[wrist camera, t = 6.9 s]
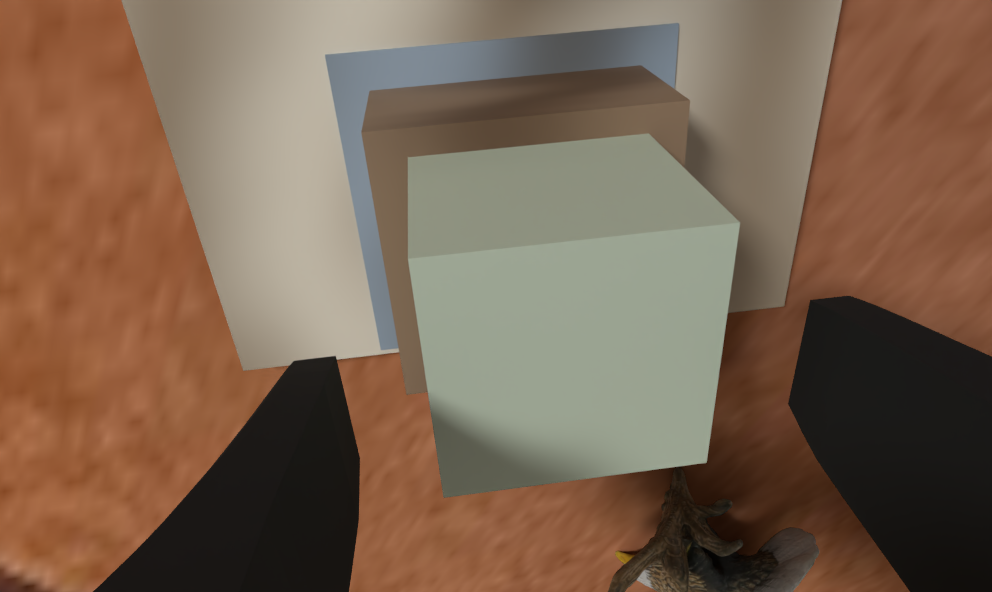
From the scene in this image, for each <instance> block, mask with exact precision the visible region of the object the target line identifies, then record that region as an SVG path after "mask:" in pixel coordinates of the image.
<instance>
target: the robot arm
mask: <svg viewBox="0 0 992 592" xmlns="http://www.w3.org/2000/svg"><path fill="white" fill-rule="evenodd" d="M788 404H789V406H790V408H791V410H792V412H793V414H794V416H795V418H796V420H797V422H798V425H799V427H800V429H801V431H802V433H803V435H804V437H805V438H806V440H807V442H808V444H809V446H810V448H811V449H812V451H813V453H814V455H815V457H816V459H817V460H818V462H819V463H820V465H821V466H822V468H823V469H824V471H825V472H826V474H827V475H828V477H829V478H830V479H831V481H832V482H833V484H834V485H835V487H836V488H837V489H838V491H839V492H840V494H841V495H842V497H843V498H844V499H845V501H846V502H847V504H848V505H849V507H850V508H851V509H852V511H853V512H854V514H855V515H856V516H857V518H858V519H859V521H860V522H861V523H862V525H863V526H864V528H865V529H866V530H867V532H868V533H869V535H870V536H871V537H872V539H873V540H874V542H875V543H876V544H877V546H878V547H879V549H880V550H881V551H882V553H883V554H884V556H885V557H886V558H887V560H888V561H889V563H890V564H891V565H892V567H893V568H894V570H895V571H896V572H897V574H898V575H899V577H900V578H901V579H902V581H903V582H904V584H905V585H906V586H907V588H908V589H909V591H910V592H992V357H991V356H989V355H987V354H984V353H982V352H980V351H978V350H975V349H973V348H971V347H969V346H966V345H964V344H962V343H960V342H957V341H955V340H953V339H951V338H949V337H946V336H944V335H942V334H940V333H937V332H935V331H933V330H931V329H929V328H926V327H924V326H922V325H920V324H917V323H915V322H913V321H911V320H908V319H906V318H904V317H902V316H899V315H897V314H895V313H892V312H890V311H888V310H885V309H883V308H880V307H878V306H876V305H873V304H870V303H868V302H865V301H863V300H860V299H857V298H854V297H851V296H842V297H834V298H825V299H817V300H810V304H809V309H808V314H807V318H806V323H805V328H804V332H803V337H802V342H801V346H800V351H799V356H798V360H797V365H796V370H795V374H794V379H793V384H792V389H791V393H790V398H789V403H788ZM359 476H360V457H359V453H358V449H357V444H356V440H355V436H354V432H353V427H352V423H351V419H350V415H349V410H348V406H347V402H346V398H345V393H344V389H343V385H342V381H341V376H340V372H339V368H338V364H337V359H336V356H330V357H322V358H313V359H305V360H296V361H293V362H292V363H291V365H290V366H289V367H288V368H287V369H286V371H285V372H284V373H283V375H282V376H281V377H280V379H279V380H278V381H277V383H276V384H275V385H274V387H273V388H272V389H271V391H270V392H269V393H268V395H267V396H266V397H265V399H264V400H263V401H262V403H261V404H260V405H259V407H258V408H257V409H256V411H255V412H254V413H253V415H252V416H251V417H250V419H249V420H248V421H247V423H246V424H245V425H244V427H243V428H242V429H241V430H240V432H239V433H238V434H237V435H236V437H235V438H234V439H233V440H232V442H231V443H230V444H229V445H228V447H227V448H226V449H225V450H224V452H223V453H222V454H221V455H220V457H219V458H218V459H217V461H216V462H215V463H214V464H213V465H212V467H211V468H210V469H209V470H208V471H207V473H206V474H205V475H204V476H203V477H202V479H201V480H200V481H199V482H198V483H197V484H196V485H195V486H194V488H193V489H192V490H191V491H190V492H189V493H188V494H187V496H186V497H185V498H184V499H183V500H182V501H181V502H180V504H179V505H178V506H177V507H176V508H175V509H174V510H173V512H172V513H171V514H170V515H169V516H168V517H167V518H166V519H165V521H164V522H163V523H162V524H161V525H160V526H159V527H158V528H157V529H156V530H155V531H154V532H153V533H152V534H151V535H150V537H149V538H148V539H147V540H146V541H145V542H144V543H143V544H142V545H141V546H140V547H139V548H138V549H137V550H136V551H135V552H134V553H133V554H132V555H131V556H130V557H129V558H128V559H127V560H126V561H125V562H124V563H123V564H121V565H120V566H119V567H118V568H117V569H116V570H115V571H114V572H113V573H112V574H111V575H110V576H109V577H108V578H107V579H106V580H105V581H104V582H103V583H102V584H101V585H100V586H99V587H98V588H97V589H95V590H94V591H93V592H349V587H350V580H351V573H352V565H353V558H354V551H355V544H356V536H357V528H358V521H359Z"/></svg>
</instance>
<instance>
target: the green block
mask: <svg viewBox="0 0 992 592" xmlns="http://www.w3.org/2000/svg"><path fill="white" fill-rule="evenodd" d="M739 228H740V222H739V221H738V220H737V219H736V218H735V217H734V216H733V215H732V214H731V213H730V212H729V211H728V210H727V209H726V208H725V207H724V206H723V205H722V204H721V203H720V202H719V201H718V200H717V199H716V198H715V197H713V196H712V195H711V194H710V193H709V192H708V191H707V190H706V189H705V188H704V187H703V186H702V185H701V184H700V183H699V182H698V181H697V180H696V179H695V178H694V177H693V176H692V175H691V174H690V173H689V172H688V171H687V170H686V169H685V168H684V167H683V166H682V165H681V164H680V163H679V162H678V161H677V160H676V159H674V158H673V157H672V156H671V155H670V154H669V153H668V152H667V151H666V150H665V149H664V148H663V147H662V146H661V145H660V144H659V143H658V142H657V141H656V140H655V139H654V138H653V137H652V136H651V135H650V134H639V135H629V136H619V137H608V138H598V139H588V140H578V141H568V142H558V143H548V144H538V145H528V146H518V147H508V148H498V149H488V150H478V151H468V152H458V153H448V154H437V155H427V156H417V157H408V263H409V270H410V276H411V283H412V290H413V296H414V303H415V310H416V316H417V323H418V330H419V336H420V343H421V350H422V356H423V363H424V370H425V376H426V383H427V390H428V396H429V403H430V410H431V417H432V423H433V430H434V437H435V443H436V450H437V457H438V463H439V470H440V477H441V483H442V490H443V497H444V498H445V497H453V496H460V495H468V494H475V493H483V492H490V491H498V490H505V489H513V488H520V487H528V486H535V485H543V484H550V483H558V482H565V481H573V480H580V479H588V478H596V477H603V476H611V475H618V474H626V473H633V472H641V471H648V470H656V469H663V468H671V467H678V466H686V465H693V464H701V463H707V457H708V450H709V442H710V435H711V428H712V421H713V414H714V407H715V400H716V392H717V385H718V378H719V371H720V364H721V357H722V349H723V342H724V335H725V328H726V321H727V314H728V306H729V299H730V292H731V285H732V278H733V271H734V264H735V256H736V249H737V242H738V235H739Z"/></svg>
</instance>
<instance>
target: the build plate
mask: <svg viewBox="0 0 992 592" xmlns="http://www.w3.org/2000/svg"><path fill="white" fill-rule="evenodd" d="M122 3H123V6H124V9H125V12H126V15H127V18H128V21H129V24H130V27H131V30H132V33H133V36H134V39H135V42H136V46H137V49H138V52H139V55H140V58H141V61H142V64H143V67H144V70H145V73H146V76H147V79H148V82H149V85H150V88H151V91H152V94H153V97H154V100H155V103H156V106H157V109H158V112H159V115H160V118H161V122H162V125H163V128H164V131H165V134H166V137H167V140H168V143H169V146H170V149H171V152H172V155H173V158H174V161H175V164H176V167H177V170H178V173H179V176H180V179H181V182H182V185H183V188H184V191H185V194H186V198H187V201H188V204H189V207H190V210H191V213H192V216H193V219H194V222H195V225H196V228H197V231H198V234H199V237H200V240H201V243H202V246H203V249H204V252H205V255H206V258H207V261H208V264H209V267H210V270H211V274H212V277H213V280H214V283H215V286H216V289H217V292H218V295H219V298H220V301H221V304H222V307H223V310H224V313H225V316H226V319H227V322H228V325H229V328H230V331H231V334H232V337H233V340H234V343H235V346H236V350H237V353H238V356H239V359H240V362H241V365H242V368H243V371H245V370H253V369H262V368H270V367H278V366H287V365H291V363H292V362H293V361H296V360H305V359H313V358H322V357H330V356H336V359H346V358H354V357H362V356H371V355H379V354H388V353H396V352H399V348H398V342H397V336H396V331H395V325H394V319H393V313H392V307H391V302H390V296H389V290H388V284H387V278H386V273H385V267H384V261H383V255H382V250H381V244H380V238H379V232H378V226H377V221H376V215H375V209H374V203H373V198H372V192H371V186H370V180H369V174H368V169H367V163H366V157H365V151H364V145H363V140H362V134H361V131H362V126H363V121H364V116H365V111H366V106H367V101H368V96H369V91H371V90H382V89H393V88H403V87H414V86H425V85H435V84H446V83H457V82H467V81H478V80H489V79H499V78H510V77H521V76H531V75H542V74H553V73H564V72H574V71H585V70H596V69H606V68H617V67H628V66H638V65H642V66H643V67H644V68H646V69H647V70H649V71H650V72H651V73H653V74H654V75H656V76H657V77H658V78H660V79H661V80H663V81H664V82H665V83H667V84H668V85H670V86H671V87H672V88H674V89H675V90H677V91H678V92H679V93H681V94H682V95H684V96H685V97H686V98H688V99H689V100H690V109H689V121H688V132H687V144H686V155H685V167H684V168H685V169H686V170H687V171H688V172H689V173H690V174H691V175H692V176H693V177H694V178H695V179H696V180H697V181H698V182H699V183H700V184H701V185H702V186H703V187H704V188H705V189H706V190H707V191H708V192H709V193H710V194H711V195H712V196H713V197H715V198H716V199H717V200H718V201H719V202H720V203H721V204H722V205H723V206H724V207H725V208H726V209H727V210H728V211H729V212H730V213H731V214H732V215H733V216H734V217H735V218H736V219H737V220H738V221H739V222H740V228H739V235H738V242H737V249H736V256H735V264H734V271H733V278H732V285H731V292H730V299H729V306H728V313H732V312H741V311H749V310H757V309H766V308H774V307H783V306H784V304H785V299H786V293H787V288H788V283H789V278H790V272H791V267H792V262H793V256H794V251H795V246H796V241H797V235H798V230H799V225H800V220H801V214H802V209H803V204H804V198H805V193H806V188H807V183H808V177H809V172H810V167H811V162H812V156H813V151H814V146H815V141H816V135H817V130H818V125H819V119H820V114H821V109H822V104H823V98H824V93H825V88H826V83H827V77H828V72H829V67H830V62H831V56H832V51H833V46H834V40H835V35H836V30H837V25H838V19H839V14H840V9H841V4H842V0H122Z"/></svg>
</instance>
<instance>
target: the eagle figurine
mask: <svg viewBox="0 0 992 592" xmlns="http://www.w3.org/2000/svg"><path fill="white" fill-rule="evenodd" d="M664 498H665V503H664V504H662V511H663V513H662V517H661V522H660V524H659V525H658V526H657V531H656V534H655V536H654V537H653V538H651V539H650V540H649V543H648V544H647V545H646V546H645V547H644V548H643V549H642V550H641V551H640V552H638V553H637V554H636V555H630V554H626V553H623V552H621V551H616V553H615V555H616V556H617V558H618V559H619V560H620V561H621V562H622V563H623V564H624V565H623V566H622V567H621V568H620V569H619V570H618V571H617V572H616V573H615V575H614V576H613V578H612V581H611V584H610V587H609V590H608V592H625V591H626V589H627V588H628V587H630V586H631V585H632V584H633V583H634V582H635V581H636V580H637V581H639V582H641V583H643V584H644V585H646V586H648V587H651V588H652V589H654V590H656V591H658V592H793V591H794V589H795V588H796V587H797V586H798V585H799V584H800V582H801V580H802V579H803V578H804V577H805V575H806V574H807V572H808V571H809V570H810V569H811V567H812V566H813V564H814V561H815V559H816V558H817V557H818V554H819V549H818V547H817V545H816V540H815V537H814V536H813V535H812V534H811V533H807V532H805V531H803V530H802V529H799V528H791V527H790V528H786V529H784V530H782V531H780V532H778V533H777V534H775V535H774V536H773V537H772V538H771V539H770V540H769V541H768V542H767V543H765V544H764V545H763V546H762V547H761V548H760V549H759V551H758V552H757V553H756V554H754V555H751V556H747V555H739V554H738V553H736V552H735V551H737V550H738V549H740V548H741V547H742V546H743V541H742V540H740V539H738V540H736V541H733V542H728V541H724V540H721V539H720V538H719V537H718V535H717V533H716V532H715V531H714V530H713V529H712V528H711V527H710V525H709V524H708V522H707V518H708V517H714V516H720V515H722V514H724V513H725V512H727V511H728V510H729V509H730V508H731V506H732V502H731V501H730V500H728V499H720V500H718V501H716V502H715V503H714V504H713V505H711V506H699V505H696V504H695V502H694V500H693V498H692V496H691V495H690V493H689V490H688V487H687V483H686V477H685V474H684V471H683V470H682V469H681V468H675V469H674V471H673V479H672V483H671V485H670V490H668V491H667V492H666V493H665V497H664Z"/></svg>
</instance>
